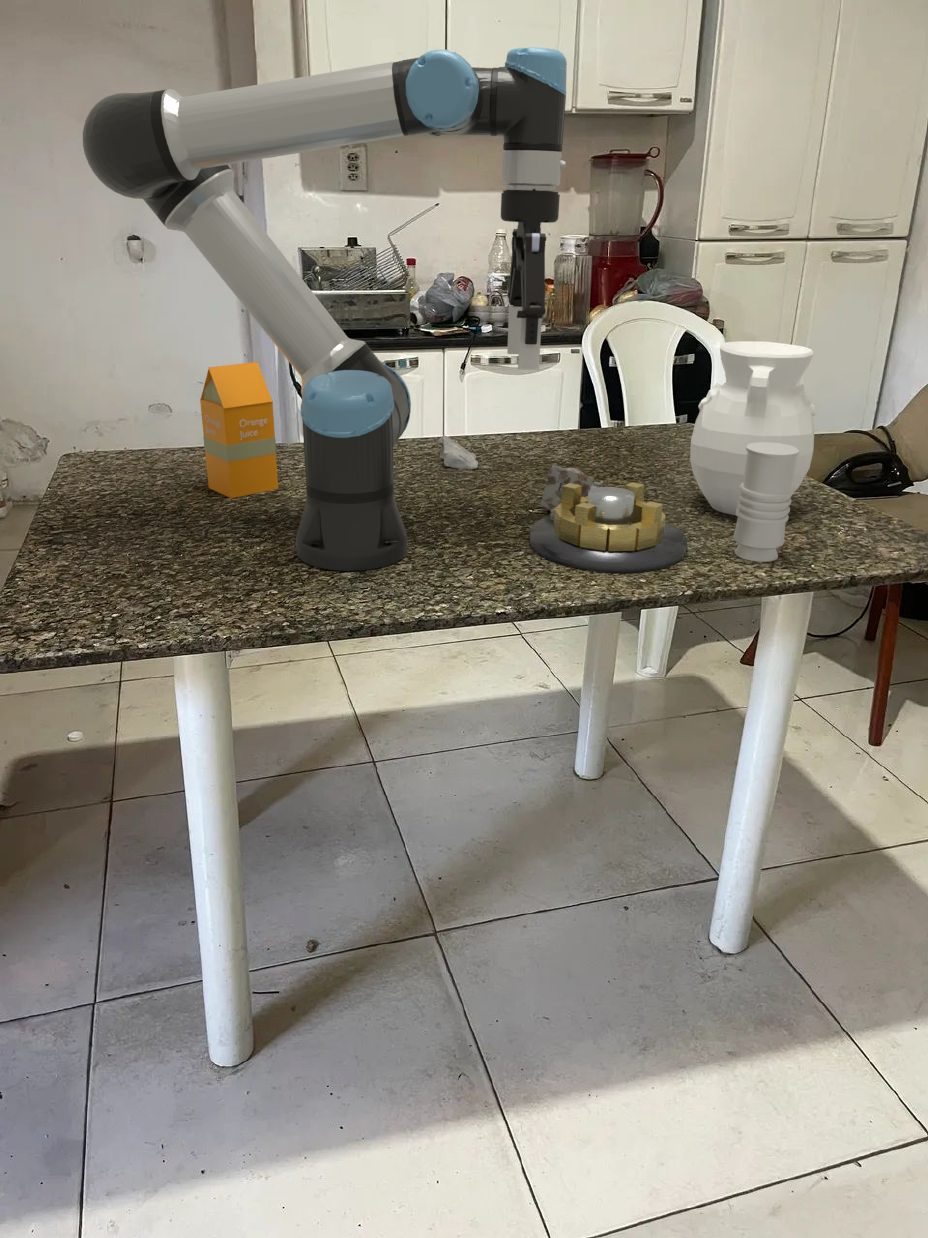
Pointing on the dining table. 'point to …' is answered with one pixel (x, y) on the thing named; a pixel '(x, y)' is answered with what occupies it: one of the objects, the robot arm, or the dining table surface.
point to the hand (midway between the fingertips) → (522, 361)
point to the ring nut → (580, 527)
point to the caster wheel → (564, 477)
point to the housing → (610, 510)
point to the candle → (764, 500)
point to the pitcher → (751, 417)
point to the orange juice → (238, 431)
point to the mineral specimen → (456, 455)
